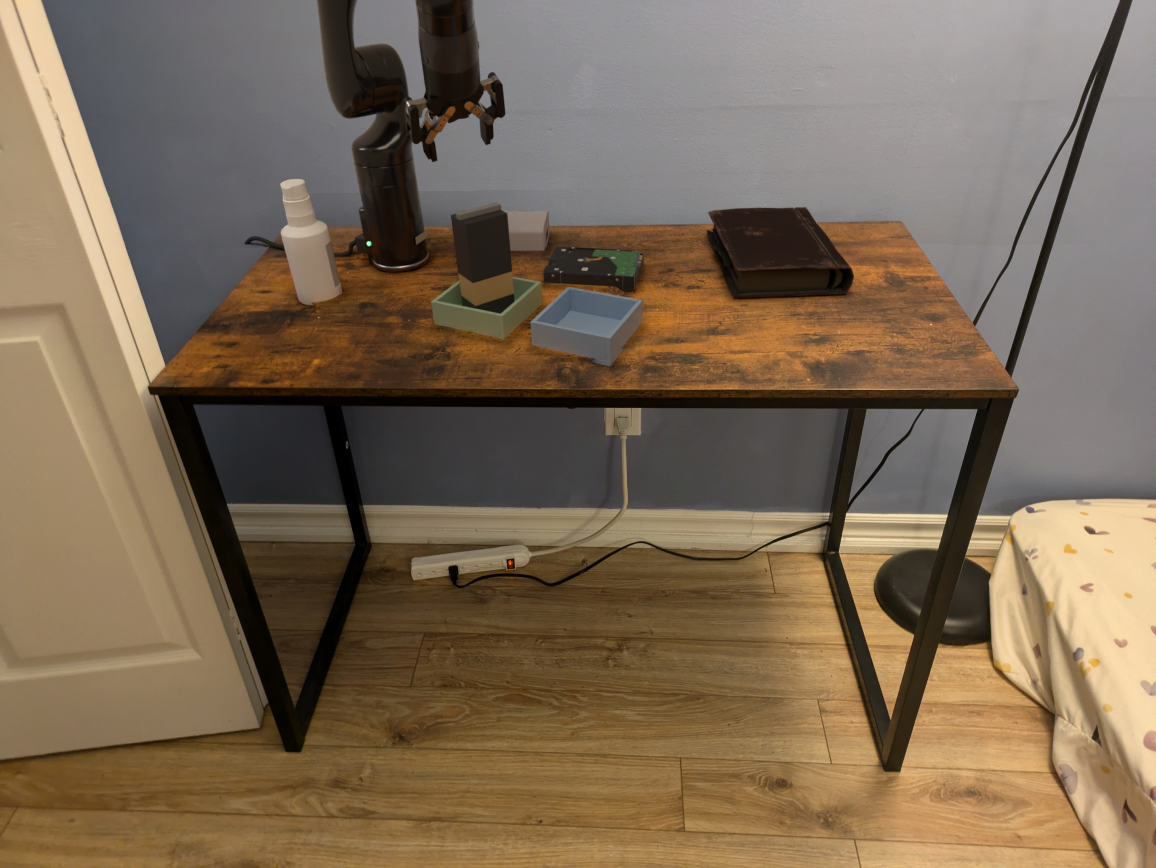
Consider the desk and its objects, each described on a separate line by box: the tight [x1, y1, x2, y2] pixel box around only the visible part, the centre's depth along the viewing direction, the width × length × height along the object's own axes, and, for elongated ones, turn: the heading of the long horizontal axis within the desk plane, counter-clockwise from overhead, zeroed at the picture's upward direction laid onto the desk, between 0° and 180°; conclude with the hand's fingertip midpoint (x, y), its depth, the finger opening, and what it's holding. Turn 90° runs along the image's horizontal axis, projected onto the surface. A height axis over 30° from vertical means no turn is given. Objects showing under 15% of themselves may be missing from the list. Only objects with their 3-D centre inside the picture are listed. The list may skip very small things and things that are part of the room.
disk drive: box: [542, 246, 645, 291], centre depth 123 cm, size 10×3×15 cm
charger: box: [503, 210, 550, 252], centre depth 134 cm, size 5×9×15 cm
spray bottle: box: [279, 178, 343, 307], centre depth 115 cm, size 7×7×18 cm
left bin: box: [430, 276, 544, 340], centre depth 112 cm, size 12×12×4 cm
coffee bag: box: [450, 201, 515, 314], centre depth 108 cm, size 4×6×16 cm
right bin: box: [529, 286, 644, 367], centre depth 106 cm, size 12×12×4 cm
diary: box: [706, 206, 855, 299], centre depth 124 cm, size 19×25×5 cm
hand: (459, 149), depth 113 cm, fingers open, 8 cm apart
